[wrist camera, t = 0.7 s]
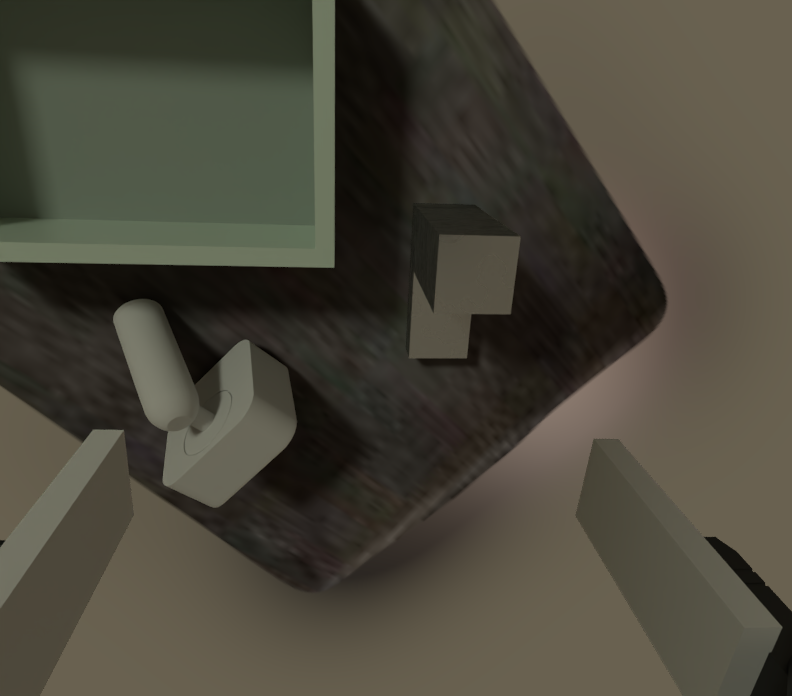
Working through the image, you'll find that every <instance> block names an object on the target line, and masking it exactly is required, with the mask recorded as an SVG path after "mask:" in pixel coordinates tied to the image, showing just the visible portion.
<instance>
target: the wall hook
mask: <svg viewBox="0 0 792 696" xmlns="http://www.w3.org/2000/svg"><path fill="white" fill-rule="evenodd" d="M113 322H114V325H115V328H116V331H117V334H118V337H119V340H120V343H121V345H122V348H123V351H124V354H125V357H126V360H127V363H128V366H129V369H130V372H131V375H132V378H133V381H134V384H135V387H136V389H137V392H138V395H139V398H140V401H141V404H142V407H143V409H144V412H145V415H146V416H147V418H148V419H149V421H150V422H151V423H152V424H153V425H155V426H156V427H158V428H160V429H162V430H165V431H168V437H167V446H166V454H165V463H164V472H163V483H164V485H165V486H167V487H170V488H172V489H174V490H176V491H178V492H180V493H182V494H185V495H187V496H189V497H191V498H193V499H195V500H198V501H200V502H202V503H204V504H206V505H208V506H211V507H214V508H215V507H219V506H221V505H222V504H224V503H225V502H226V501H227V500H228V499H229V498H230V497H231V496H233V495H234V494H235V493H236V492H237V491H238V490H239V489H240V488H242V487H243V486H244V485H245V484H246V483H247V482H248V481H249V480H250V479H252V478H253V477H254V476H255V475H256V474H257V473H258V472H259V471H260V470H262V469H263V468H264V467H265V466H266V465H267V464H268V463H269V462H270V461H272V460H273V459H274V458H275V457H276V456H277V455H278V454H279V453H280V452H281V451H283V450H284V449H285V448H286V446H287V445H288V444H289V442H290V441H291V439H292V437H293V435H294V433H295V430H296V426H297V419H296V412H295V406H294V401H293V395H292V389H291V384H290V378H289V372H288V369H287V367H286V366H284V365H283V364H281V363H280V362H279V361H277V360H276V359H274V358H273V357H271V356H270V355H269V354H267V353H266V352H264V351H263V350H261V349H260V348H258V347H257V346H256V345H254V344H253V343H251V342H250V341H248V340H242V341H241V342H239V343H238V344H236V345H235V346H234V347H233V348H232V349H231V350H230V351H229V352H228V353H227V354H226V355H225V356H224V357H223V358H222V359H221V360H220V361H219V362H218V363H217V364H216V365H215V366H214V367H213V368H212V369H211V370H210V371H209V372H208V373H207V374H206V375H205V376H203V377H202V378H201V379H200V380H199V381H198V382H197V383H196V384H195V385H194V383H193V381H192V378H191V376H190V373H189V371H188V368H187V366H186V364H185V361H184V359H183V356H182V354H181V351H180V349H179V347H178V344H177V342H176V339H175V337H174V335H173V332H172V330H171V327H170V325H169V323H168V320H167V318H166V315H165V313H164V310H163V308H162V306H161V305H160V304H159V303H157V302H156V301H153V300H150V299H136V300H132V301H129V302H127V303H125V304H123V305H122V306H121V307H119V308H118V309H117V311H116V312H115V314H114V317H113Z"/></svg>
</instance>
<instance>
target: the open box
mask: <svg viewBox="0 0 792 696" xmlns="http://www.w3.org/2000/svg"><path fill="white" fill-rule="evenodd" d="M0 262H42V263H98V264H154V265H210V266H265V267H321V268H334V262H335V0H0Z"/></svg>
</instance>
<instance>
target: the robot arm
mask: <svg viewBox="0 0 792 696" xmlns="http://www.w3.org/2000/svg"><path fill="white" fill-rule="evenodd" d="M133 515H134V513H133V505H132V497H131V488H130V479H129V470H128V462H127V453H126V445H125V436H124V430H93V431H92V432H91V433H90V435H89V436H88V437H87V438H86V440H85V441H84V442H83V444H82V445H81V446H80V447H79V449H78V450H77V451H76V452H75V454H74V455H73V456H72V457H71V459H70V460H69V461H68V462H67V464H66V465H65V466H64V468H63V469H62V470H61V471H60V473H59V474H58V475H57V476H56V478H55V479H54V480H53V481H52V483H51V484H50V485H49V486H48V488H47V489H46V490H45V491H44V493H43V494H42V495H41V497H40V498H39V499H38V500H37V502H36V503H35V504H34V505H33V507H32V508H31V509H30V510H29V512H28V513H27V514H26V515H25V517H24V518H23V520H22V521H21V522H20V523H19V524H18V526H17V527H16V528H15V529H14V531H13V532H12V533H11V534H10V536H9V537H8V538H7V540H5V541H4V540H3V541H2V540H0V696H40V694H41V692H42V691H43V689H44V687H45V685H46V683H47V681H48V679H49V677H50V675H51V673H52V671H53V669H54V667H55V665H56V664H57V662H58V660H59V658H60V656H61V654H62V652H63V650H64V648H65V646H66V644H67V642H68V640H69V638H70V637H71V635H72V633H73V631H74V629H75V627H76V625H77V623H78V621H79V619H80V617H81V615H82V614H83V612H84V609H85V608H86V606H87V604H88V602H89V600H90V598H91V596H92V594H93V592H94V590H95V588H96V586H97V584H98V583H99V581H100V579H101V577H102V575H103V573H104V571H105V569H106V567H107V565H108V563H109V561H110V559H111V558H112V556H113V554H114V552H115V550H116V548H117V546H118V544H119V542H120V540H121V538H122V537H123V535H124V533H125V531H126V529H127V527H128V525H129V523H130V521H131V519H132V517H133ZM576 517H577V519H578V521H579V522H580V524H581V526H582V527H583V529H584V531H585V532H586V534H587V536H588V538H589V539H590V541H591V543H592V544H593V546H594V548H595V549H596V551H597V553H598V554H599V556H600V558H601V559H602V561H603V563H604V564H605V566H606V568H607V569H608V571H609V573H610V575H611V576H612V578H613V580H614V581H615V583H616V585H617V586H618V588H619V590H620V591H621V593H622V595H623V596H624V598H625V600H626V601H627V603H628V605H629V606H630V608H631V610H632V611H633V613H634V615H635V616H636V618H637V620H638V621H639V623H640V625H641V626H642V628H643V630H644V632H645V633H646V635H647V637H648V638H649V640H650V642H651V643H652V645H653V647H654V648H655V650H656V652H657V653H658V655H659V657H660V658H661V660H662V662H663V663H664V665H665V667H666V669H667V670H668V672H669V674H670V675H671V677H672V678H673V680H674V682H675V683H676V685H677V687H678V689H679V690H680V692H681V693H682V695H683V696H792V611H791V610H790V609H789V608H788V607H787V606H786V605H785V604H784V603H783V602H782V601H781V600H780V598H779V597H778V596H777V595H776V594H775V593H774V592H773V591H772V590H771V589H770V588H769V587H768V586H765V582H764V581H763V580H762V579H761V578H760V577H759V576H758V574H757V573H756V572H753V571H752V568H751V567H750V566H749V565H748V564H747V563H746V561H745V560H744V559H743V558H742V557H741V556H740V555H739V554H738V553H737V552H736V551H735V550H733V549H732V548H730V547H729V546H728V545H726V544H725V543H723V542H722V541H720V540H719V539H717V538H716V537H703V536H702V535H701V533H700V532H699V531H698V530H697V529H696V528H695V526H694V525H693V524H692V523H691V522H690V521H689V520H688V518H687V517H686V516H685V515H684V514H683V513H682V512H681V510H680V509H679V508H678V507H677V506H676V505H675V503H674V502H673V501H672V500H671V499H670V498H669V497H668V496H667V494H666V493H665V492H664V491H663V490H662V489H661V487H660V486H659V485H658V484H657V483H656V482H655V481H654V480H653V478H652V477H651V476H650V475H649V474H648V473H647V471H646V470H645V469H644V468H643V467H642V466H641V465H640V463H638V461H637V460H636V459H635V458H634V457H633V456H632V454H631V453H630V452H629V451H628V450H627V449H626V447H625V446H624V445H623V444H622V443H621V442H620V440H618V439H594V440H593V444H592V449H591V453H590V457H589V462H588V465H587V470H586V474H585V478H584V482H583V487H582V491H581V495H580V499H579V503H578V507H577V512H576Z"/></svg>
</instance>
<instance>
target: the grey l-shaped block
mask: <svg viewBox="0 0 792 696" xmlns="http://www.w3.org/2000/svg"><path fill="white" fill-rule="evenodd" d="M520 238H521V236H519V235H518V234H516V233H515V232H513V231H512V230H510V229H509V228H508V227H506V226H505V225H503V224H502V223H500V222H499V221H497V220H496V219H494V218H493V217H492V216H490V215H489V214H487V213H486V212H484V211H483V210H481V209H480V208H478V207H477V206H476V205H464V204H431V203H413V220H412V239H411V257H410V276H409V294H408V312H407V331H406V350H407V353H408V357H409V358H467V352H468V343H469V333H470V323H471V314H511V308H512V300H513V292H514V284H515V277H516V269H517V261H518V254H519V246H520Z"/></svg>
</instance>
